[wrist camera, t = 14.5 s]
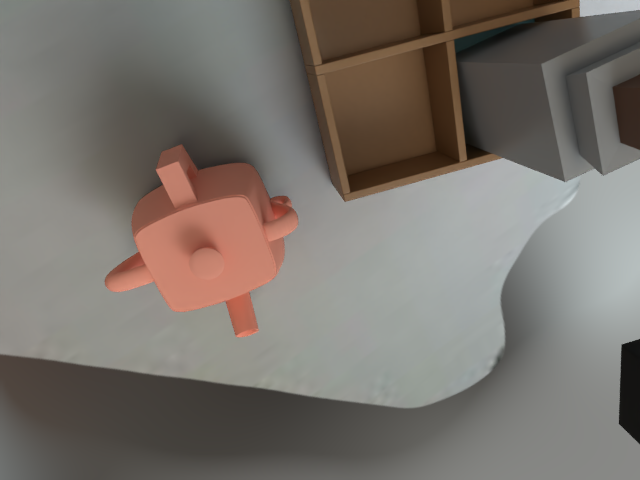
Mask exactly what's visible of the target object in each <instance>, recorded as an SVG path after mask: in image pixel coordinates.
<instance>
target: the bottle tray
mask: <svg viewBox="0 0 640 480" xmlns="http://www.w3.org/2000/svg"><path fill="white" fill-rule="evenodd" d="M290 4H291V9H292V13H293V17H294V22H295V26H296V30H297V34H298V39H299V43H300V47H301V51H302V56H303V60H304V64H305V69H306V73H307V77H308V81H309V86H310V90H311V94H312V99H313V103H314V107H315V111H316V116H317V120H318V124H319V129H320V133H321V137H322V141H323V146H324V150H325V154H326V159H327V163H328V167H329V171H330V176H331V180H332V184H333V186H334V187H335V188H336V190H337V191H338V193H339V194H340V196H341V197H342V198H343V200H344V201H345V202H346V201H350V200H353V199H357V198H360V197H364V196H368V195H371V194H375V193H378V192H382V191H386V190H389V189H393V188H396V187H400V186H404V185H407V184H411V183H414V182H418V181H422V180H425V179H429V178H432V177H436V176H440V175H443V174H447V173H450V172H454V171H457V170H461V169H465V168H468V167H472V166H475V165H479V164H483V163H486V162H490V161H493V160H497V159H501V158H502V157H500V156H497V155H495V154H492V153H489V152H487V151H484V150H482V149H479V148H477V147H474V146H471V145H469V144H466V143H465V136H464V127H463V118H462V109H461V100H460V90H459V81H458V72H457V63H456V54H455V53H457V52H460V51H462V50H464V49H466V48H468V47H470V46H472V45H475V44H477V43H479V42H481V41H483V40H485V39H488V38H490V37H492V36H494V35H496V34H498V33H500V32H503V31H505V30H507V29H509V28H511V27H513V26H515V25H518V24H526V23H535V22H543V21H552V20H560V19H568V18H577V17H580V8H579V6H580V4H579V0H290Z"/></svg>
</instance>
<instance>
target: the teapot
mask: <svg viewBox="0 0 640 480" xmlns="http://www.w3.org/2000/svg"><path fill="white" fill-rule="evenodd" d="M156 171H157V173H158V175H159V177H160V179H161V181H162V183H163V185H162V186H160V187H158V188H156V189H155V190H153V191H151V192H150V193H148V194H147V195H145V196H144V197H143V198H142V199H140V200H139V202H138V203H137V205H136V207H135V209H134V212H133V216H132V231H133V237H134V240H135V243H136V246H137V248H138V250H139V252H138V253H136V254H134V255H133V256H131V257H130V258H128V259H127V260H125V261H124V262H122V263H121V264H119V265H118V266H117V267H116V268H114V269H113V270H112V271H111V272H110V273H109V274H108V275H107V276H106V279H105V285H106V287H107V288H108V289H109V290H110V291H113V292H121V291H126V290H130V289H133V288H136V287H139V286H142V285H145V284H148V283H151V282H153V281H154V282H155V284H156V285H157V287H158V289H159V291H160V293H161V294H162V296H163V298H164V299H165V301H166V303H167V304H168V306H169V307H170V308H171V309H172V310H173V311H175V312H186V311H191V310H196V309H200V308H204V307H207V306H211V305H214V304H218V303H221V302H224V301H226V304H227V308H228V311H229V315H230V318H231V321H232V325H233V328H234V332H235V335H236V337H245V336H249V335H252V334H254V333H256V332H258V331H259V329H258V325H257V321H256V317H255V313H254V309H253V305H252V301H251V297H250V293H249V291H252V290H254V289H256V288H258V287H260V286H262V285H264V284H266V283H268V282H269V281H271V280H272V279H273V278H274V277H275V276H276V275H277V273H278V272H279V270H280V267H281V265H282V263H283V260H284V254H285V249H284V240H283V237H284V236H286V235H288V234H289V233H291V232H292V231H294V230H295V229H296V227H297V225H298V216H297V214H296V212H295V210H294V209H293V208H292V204H291V201H290V199H289V198H288V197H286V196H277V197H273V198H271V199H270V197H269V195H268V193H267V191H266V188H265V186H264V184H263V182H262V180H261V178H260V176H259V174H258V172H257V171H256V169H255V168H254V167H253V166H252V165H250V164H247V163H230V164H224V165H218V166H214V167H209V168H205V169H201V170H198V169H197V168H196V166H195V164H194V163H193V161H192V160H191V158H190V156H189V155H188V153H187V152H186V150H185V148H184V147H183V145H182V144H181V145H178V146H176V147H173V148H170V149H168V150H165V151H162V152H161V155H160V158H159V161H158V164H157V168H156Z"/></svg>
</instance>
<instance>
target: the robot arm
mask: <svg viewBox="0 0 640 480" xmlns="http://www.w3.org/2000/svg"><path fill="white" fill-rule="evenodd" d="M619 409H620V410H619V424H620V425H621V426H622V427H623V428H624V429H625V430H626V431H627V432H628V433H629V434H630V435H631V436H632V437H633V438H634V439H635V440H636V441H637V442H638V443H639V444H640V339H639V340H635V341H632V342H629V343H625V344H623V345H622V351H621V378H620V408H619Z"/></svg>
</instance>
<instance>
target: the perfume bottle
mask: <svg viewBox="0 0 640 480" xmlns="http://www.w3.org/2000/svg"><path fill="white" fill-rule="evenodd" d="M455 54H456V63H457V72H458V81H459V90H460V100H461V109H462V118H463V127H464V136H465V143H466V144H469V145H471V146H474V147H477V148H479V149H482V150H484V151H487V152H489V153H492V154H495V155H497V156H500V157H502V158H505V159H508V160H510V161H513V162H515V163H518V164H520V165H523V166H526V167H528V168H531V169H533V170H536V171H538V172H541V173H544V174H546V175H549V176H551V177H554V178H557V179H559V180H562V181H564V182H566V181H568V180H571V179H573V178H575V177H577V176H579V175H581V174H584V173H586V172H588V171H590V170H592V169H596V170H597V171H598V172H600V173H601V174H602V175H606V174H608V173H610V172H612V171H614V170H617V169H619V168H621V167H623V166H625V165H628V164H629V163H632V162H634V161H636V160H638V159H640V10H636V11H628V12H619V13H611V14H602V15H594V16H585V17H577V18H568V19H560V20H552V21H543V22H535V23H526V24H518V25H515V26H513V27H511V28H509V29H507V30H505V31H503V32H500V33H498V34H496V35H494V36H492V37H490V38H488V39H485V40H483V41H481V42H479V43H477V44H475V45H472V46H470V47H468V48H466V49H464V50H462V51H460V52H457V53H455Z"/></svg>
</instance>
